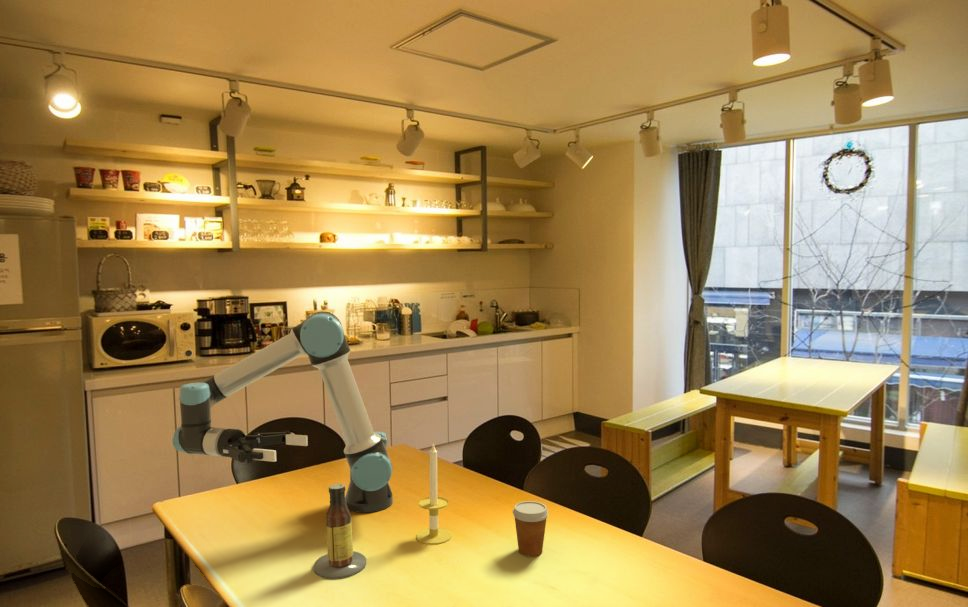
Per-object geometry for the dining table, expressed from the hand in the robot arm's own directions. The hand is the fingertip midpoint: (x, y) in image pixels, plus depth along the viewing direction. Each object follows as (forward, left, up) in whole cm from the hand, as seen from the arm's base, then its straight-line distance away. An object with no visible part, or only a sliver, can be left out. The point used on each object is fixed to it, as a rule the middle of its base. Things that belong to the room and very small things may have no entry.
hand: (291, 448), depth 159 cm
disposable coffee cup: (-51, +37, -29) cm, 69 cm away
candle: (-35, +14, -29) cm, 47 cm away
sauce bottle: (-7, +14, -28) cm, 32 cm away
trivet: (-7, +14, -28) cm, 32 cm away
